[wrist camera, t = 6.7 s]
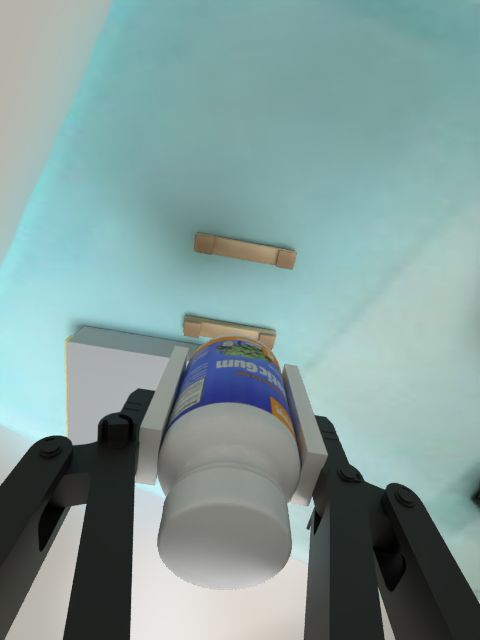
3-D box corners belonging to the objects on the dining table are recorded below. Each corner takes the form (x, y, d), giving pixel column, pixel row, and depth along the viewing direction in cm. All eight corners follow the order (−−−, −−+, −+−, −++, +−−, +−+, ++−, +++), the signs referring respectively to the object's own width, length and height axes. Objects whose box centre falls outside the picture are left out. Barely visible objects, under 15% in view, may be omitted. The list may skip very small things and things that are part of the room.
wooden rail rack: (197, 232, 31) (195, 234, 29) (294, 250, 32) (297, 254, 30) (184, 328, 35) (182, 335, 33) (271, 343, 36) (273, 350, 34)
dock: (83, 325, 35) (64, 340, 31) (209, 346, 36) (206, 363, 32) (82, 426, 40) (66, 449, 36) (193, 442, 41) (188, 466, 37)
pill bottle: (298, 361, 18) (360, 532, 9) (246, 425, 19) (252, 624, 10) (217, 313, 17) (193, 450, 8) (169, 385, 18) (101, 568, 9)
